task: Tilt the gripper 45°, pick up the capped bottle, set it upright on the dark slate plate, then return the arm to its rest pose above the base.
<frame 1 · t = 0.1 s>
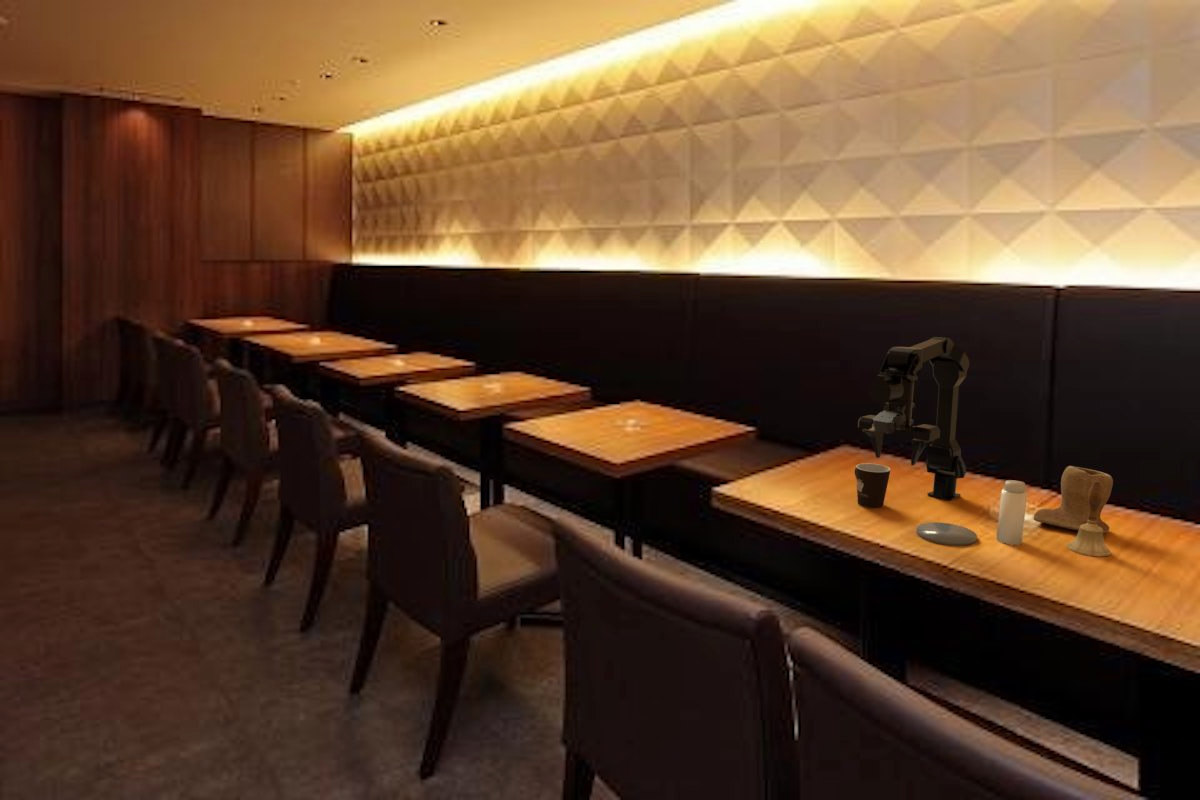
hand: (895, 461, 194), 15 cm above the table, tool pointing down, fingers open, 9 cm apart
coffee mug: (869, 503, 209), on the table
capped bottle: (1008, 540, 182), on the table
hand bell: (1088, 551, 176), on the table
slate plate: (945, 535, 185), on the table
brown boot: (1072, 527, 191), on the table
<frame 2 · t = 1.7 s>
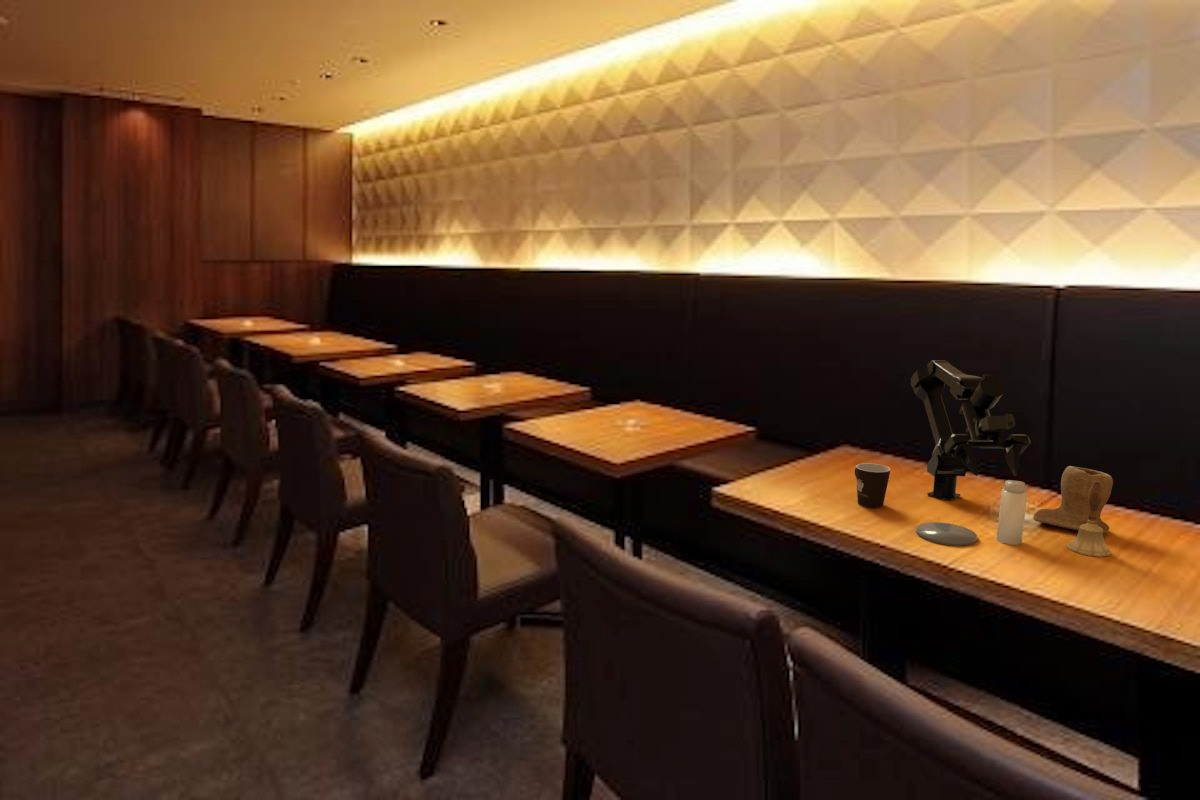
hand: (996, 475, 187), 13 cm above the table, tool tilted 45°, fingers open, 9 cm apart
nothing on the table moved.
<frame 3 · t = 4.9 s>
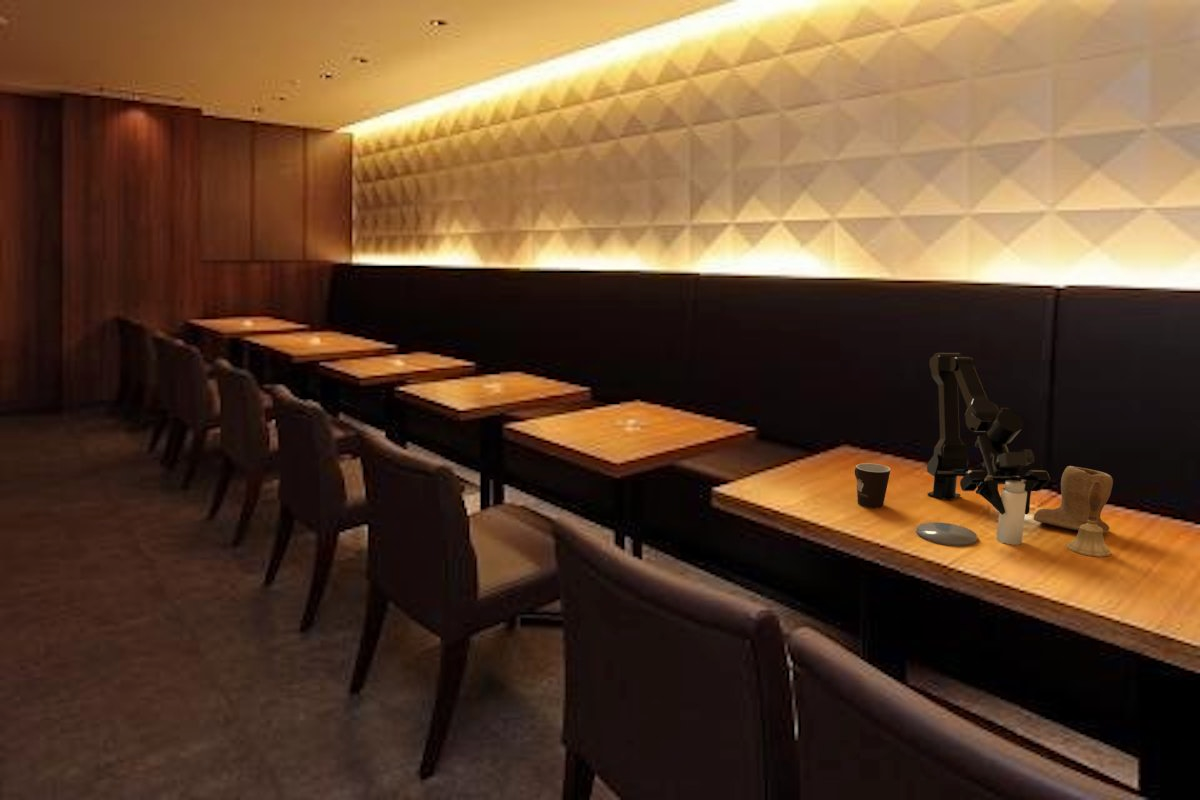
hand: (1015, 513, 179), 7 cm above the table, tool tilted 45°, fingers closed on capped bottle, 5 cm apart
capped bottle: (1008, 540, 182), on the table, touching gripper
everything else where it was.
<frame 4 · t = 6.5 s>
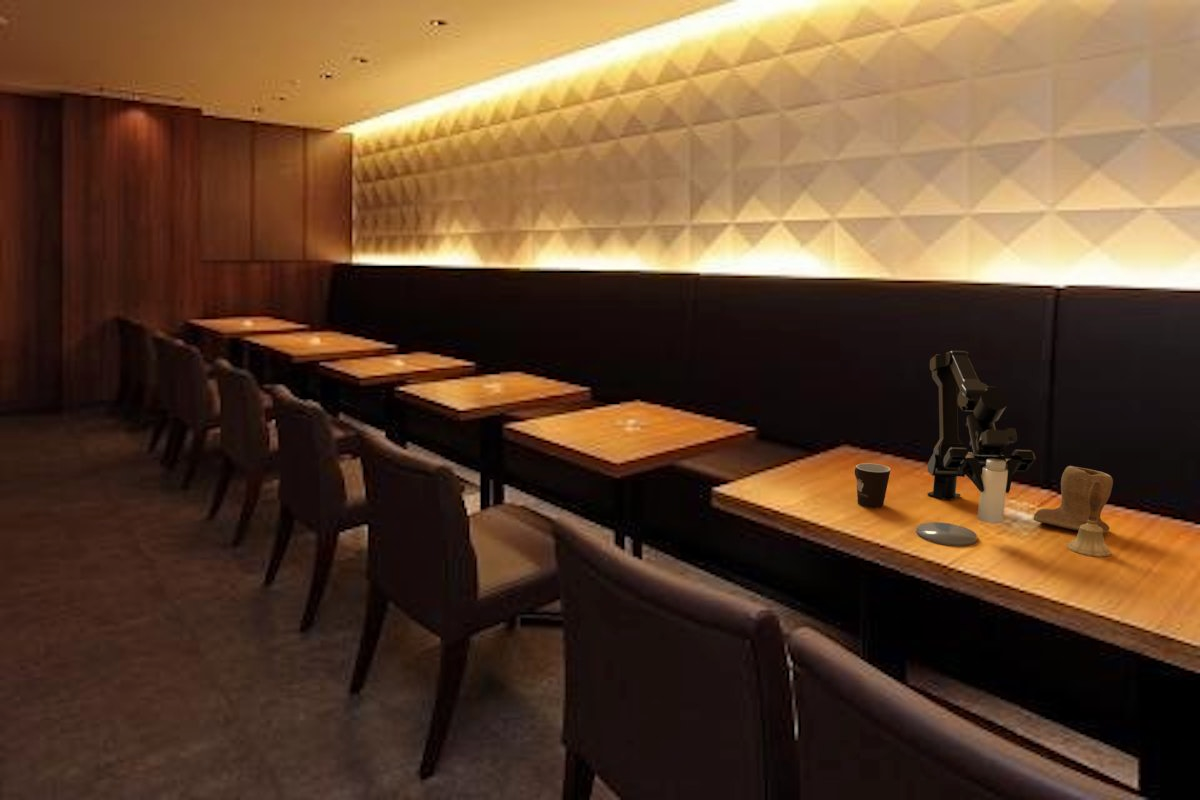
hand: (995, 491, 179), 12 cm above the table, tool tilted 45°, fingers closed on capped bottle, 5 cm apart
capped bottle: (989, 519, 181), point 5 cm above the table, touching gripper
everything else where it was.
when the fingers open (9 cm above the table, at t = 8.5 s): capped bottle drops 1 cm, resting on slate plate.
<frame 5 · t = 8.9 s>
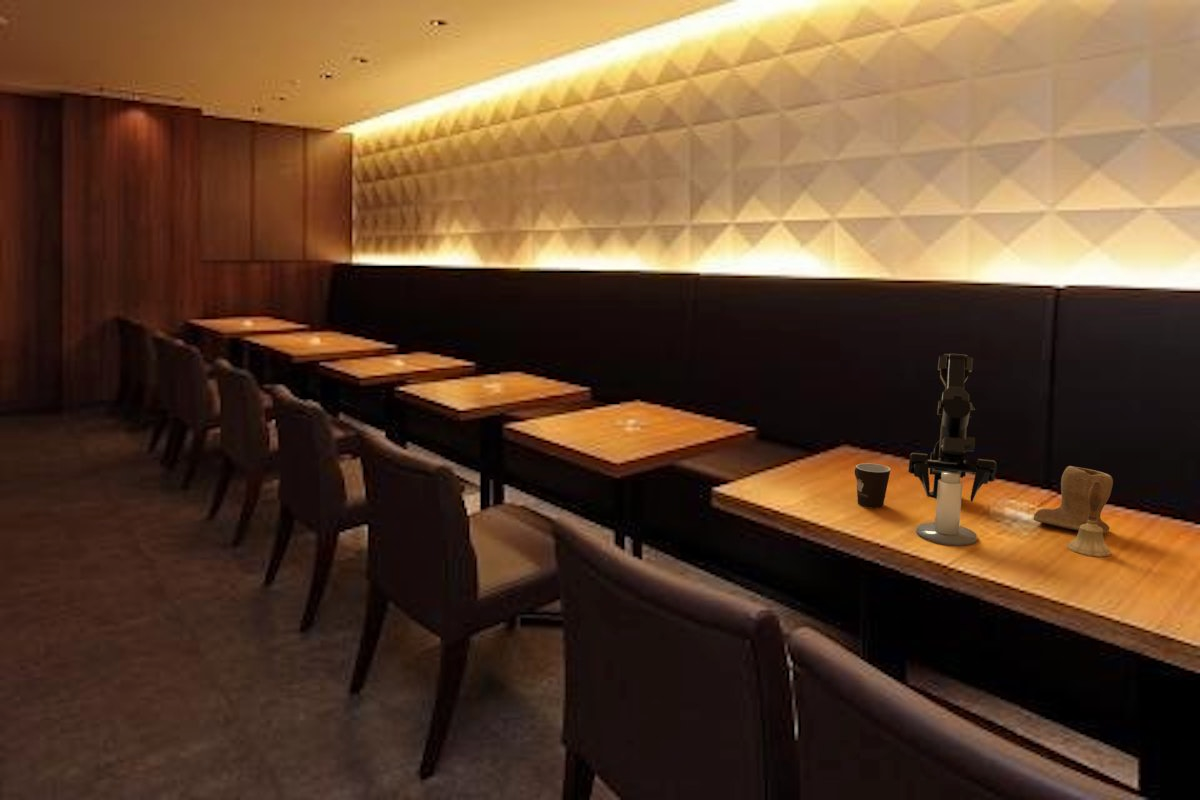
hand: (949, 498, 182), 10 cm above the table, tool tilted 45°, fingers open, 9 cm apart
capped bottle: (946, 531, 184), point 1 cm above the table, touching slate plate
everything else where it was.
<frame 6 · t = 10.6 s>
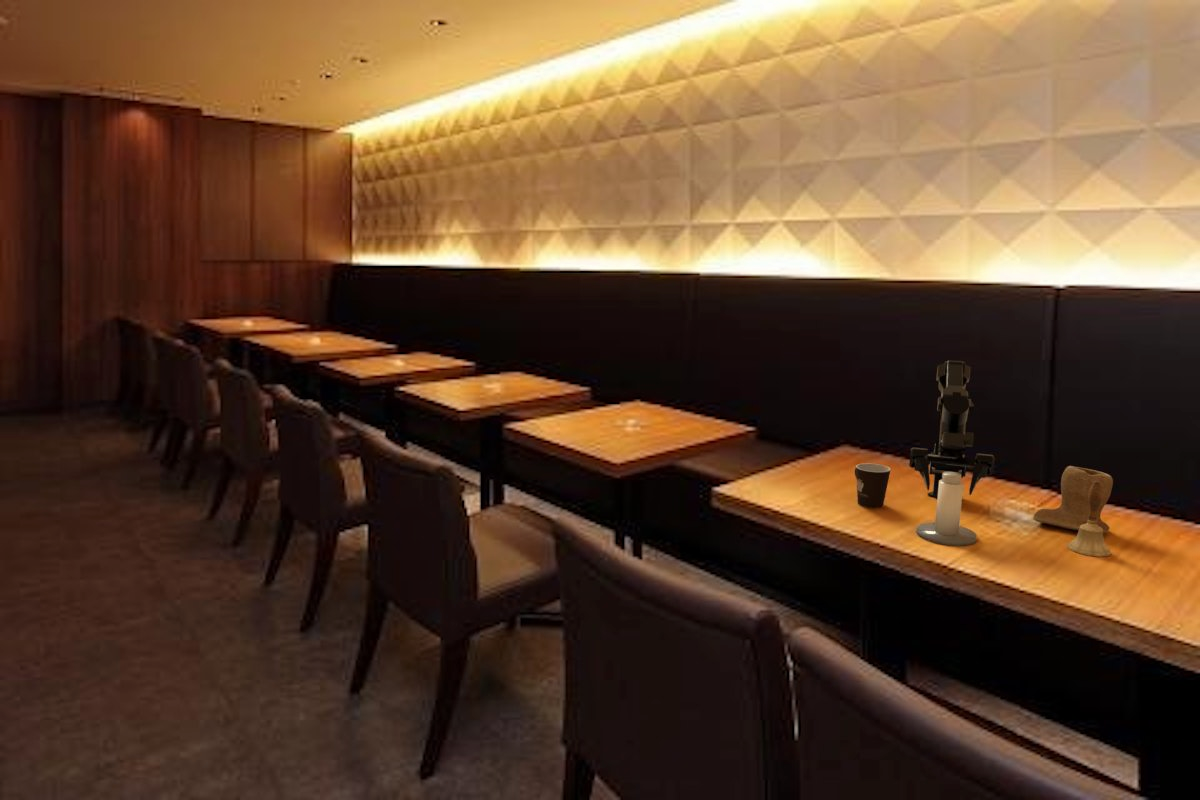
hand: (949, 491, 188), 9 cm above the table, tool tilted 45°, fingers open, 9 cm apart
nothing on the table moved.
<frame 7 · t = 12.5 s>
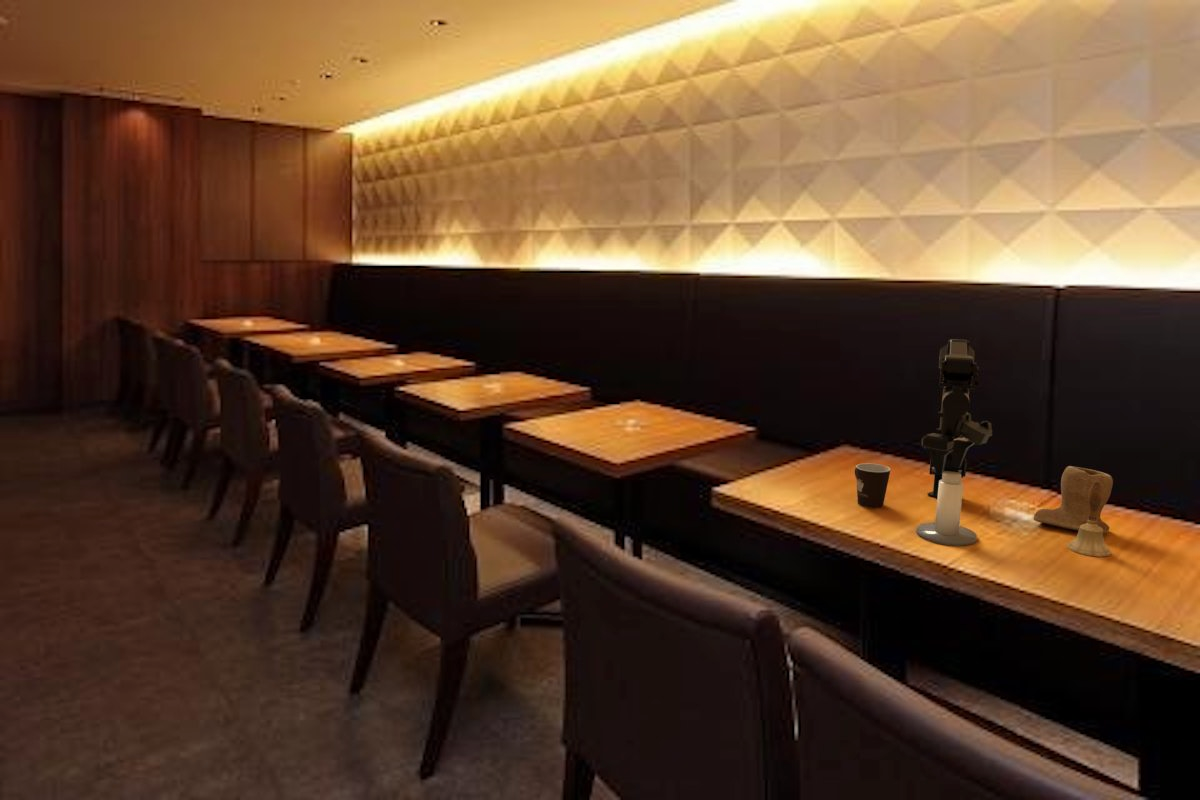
hand: (948, 471, 192), 13 cm above the table, tool pointing down, fingers open, 9 cm apart
nothing on the table moved.
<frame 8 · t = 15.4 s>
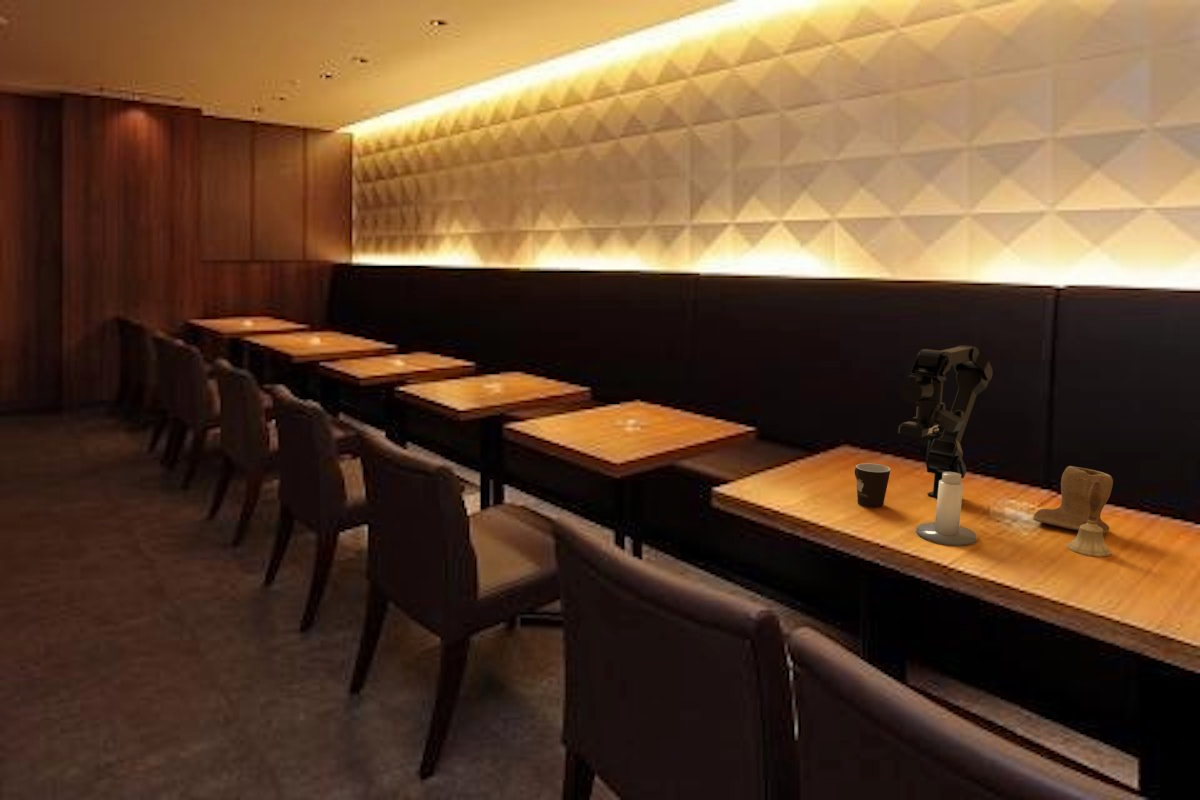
hand: (924, 457, 204), 13 cm above the table, tool pointing down, fingers closed
nothing on the table moved.
at the end: capped bottle inside the target area on the slate plate (0.1 cm from its centre), point 1.0 cm above the slate plate's base; capped bottle tilted 0°; the gripper is holding nothing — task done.
